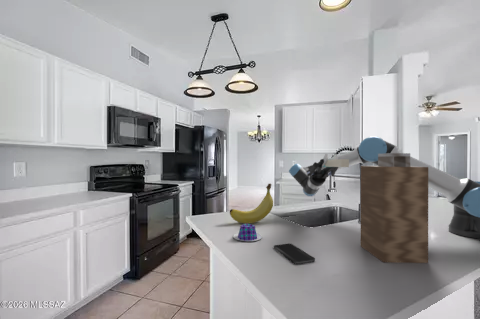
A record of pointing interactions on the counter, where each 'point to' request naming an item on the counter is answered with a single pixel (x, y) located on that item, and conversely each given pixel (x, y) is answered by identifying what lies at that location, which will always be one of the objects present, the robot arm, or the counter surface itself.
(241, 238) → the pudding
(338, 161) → the cream teal square bar
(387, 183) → the stand
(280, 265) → the counter surface
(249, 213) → the banana
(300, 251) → the phone
